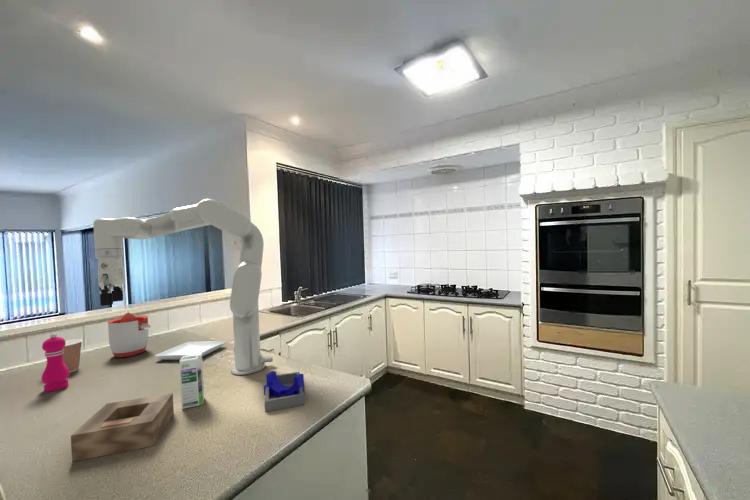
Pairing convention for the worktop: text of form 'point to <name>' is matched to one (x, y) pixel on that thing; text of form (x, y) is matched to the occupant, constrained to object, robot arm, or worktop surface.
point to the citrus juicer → (128, 335)
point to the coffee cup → (72, 354)
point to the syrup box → (191, 381)
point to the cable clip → (280, 389)
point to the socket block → (122, 427)
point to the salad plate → (190, 350)
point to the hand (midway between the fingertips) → (112, 303)
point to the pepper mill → (54, 364)
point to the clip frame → (287, 400)
